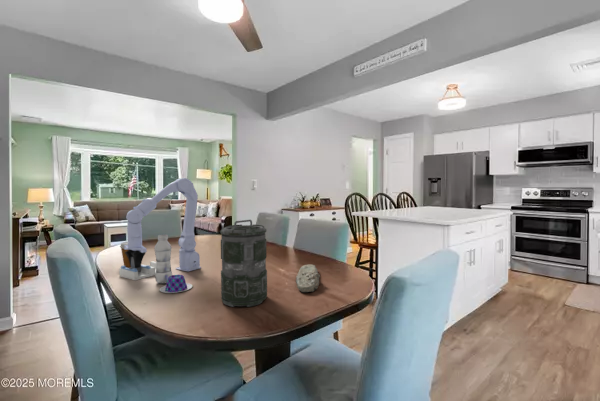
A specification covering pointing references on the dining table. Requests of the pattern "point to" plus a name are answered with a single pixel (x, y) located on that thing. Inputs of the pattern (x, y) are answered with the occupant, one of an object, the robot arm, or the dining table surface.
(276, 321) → the dining table surface
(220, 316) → the dining table surface
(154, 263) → the white blue cradle
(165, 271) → the plastic bottle
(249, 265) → the canister
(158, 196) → the robot arm
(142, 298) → the dining table surface
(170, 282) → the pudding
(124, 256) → the disposable coffee cup
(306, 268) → the long grey stone
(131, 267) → the cord plug
